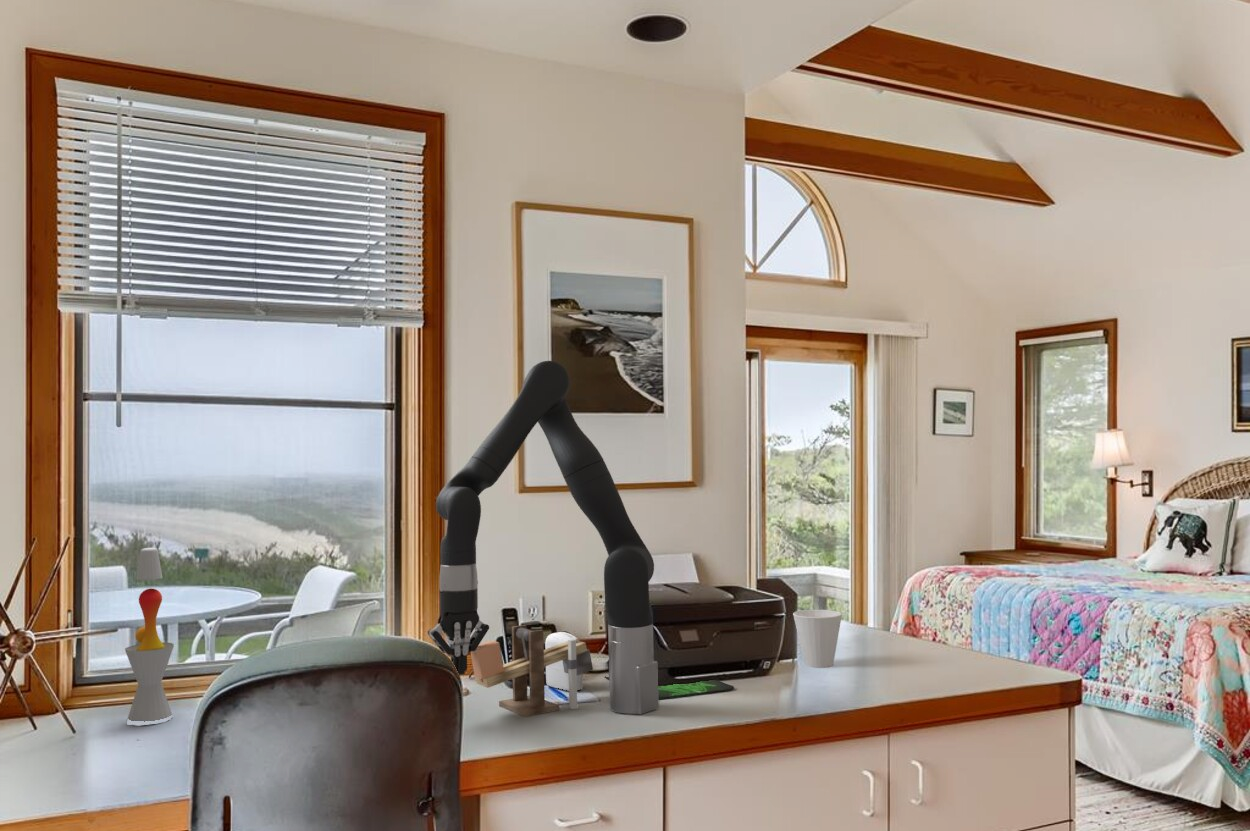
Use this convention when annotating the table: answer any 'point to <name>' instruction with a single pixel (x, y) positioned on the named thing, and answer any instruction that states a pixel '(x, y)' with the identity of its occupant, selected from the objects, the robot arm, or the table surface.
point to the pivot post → (536, 673)
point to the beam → (550, 657)
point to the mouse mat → (691, 689)
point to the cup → (818, 636)
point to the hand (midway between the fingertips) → (459, 674)
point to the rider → (487, 660)
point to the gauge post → (572, 673)
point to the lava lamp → (149, 648)
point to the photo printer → (559, 664)
